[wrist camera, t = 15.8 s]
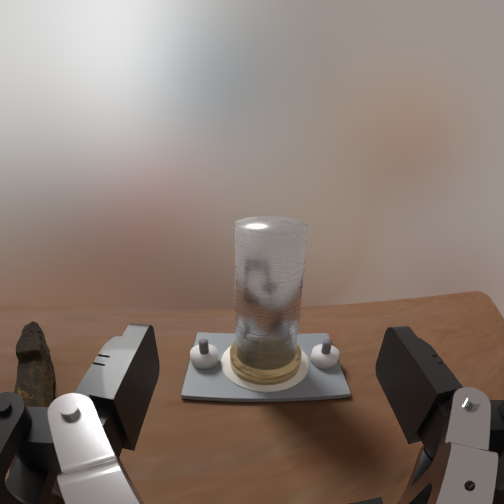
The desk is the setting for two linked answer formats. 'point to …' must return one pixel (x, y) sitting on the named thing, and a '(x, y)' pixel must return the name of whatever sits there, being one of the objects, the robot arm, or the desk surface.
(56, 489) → the hand tool
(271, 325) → the clear glass cylinder
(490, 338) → the desk surface
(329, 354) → the board
